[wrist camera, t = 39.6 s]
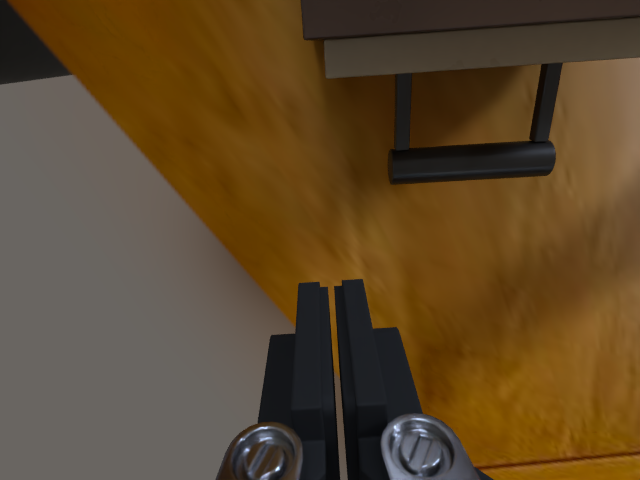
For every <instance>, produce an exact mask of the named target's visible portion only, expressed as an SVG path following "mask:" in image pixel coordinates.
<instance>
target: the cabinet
mask: <svg viewBox="0 0 640 480" xmlns="http://www.w3.org/2000/svg"><path fill="white" fill-rule="evenodd" d="M301 10H302V24H303V37H304V40H309V41H315V40H325V39H334V38H348V37H361V36H375V35H389V34H403V33H417V32H431V31H444V30H458V29H472V28H486V27H500V26H513V25H527V24H541V23H555V22H569V21H583V20H596V19H610V18H624V17H638V16H640V0H301Z"/></svg>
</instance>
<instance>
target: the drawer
mask: <svg viewBox="0 0 640 480" xmlns="http://www.w3.org/2000/svg"><path fill="white" fill-rule="evenodd" d="M639 57H640V16H638V17H624V18H610V19H596V20H583V21H569V22H555V23H541V24H527V25H513V26H500V27H486V28H472V29H458V30H444V31H431V32H417V33H403V34H389V35H375V36H361V37H348V38H334V39H325V40H324V58H325V76H326V78H327V79H331V78H346V77H361V76H375V75H390V74H395V120H394V148H395V149H390V150H389V154H388V176H389V182H390V184H391V185H396V184H414V183H431V182H449V181H466V180H484V179H501V178H519V177H536V176H547V175H549V174H550V173H551V172H552V170H553V168H554V165H555V159H556V153H555V148H554V145H553V143H552V142H551V141H549V140H548V138H549V133H550V128H551V122H552V117H553V112H554V107H555V101H556V96H557V91H558V85H559V80H560V75H561V69H562V64H563V63H566V62H580V61H595V60H609V59H624V58H639ZM536 64H542V65H541V71H540V77H539V83H538V89H537V95H536V101H535V107H534V113H533V119H532V125H531V131H530V137H529V139H530V140H532V141H518V142H501V143H485V144H468V145H452V146H435V147H419V148H409V143H410V114H411V85H412V73H419V72H434V71H448V70H463V69H478V68H492V67H507V66H522V65H536Z"/></svg>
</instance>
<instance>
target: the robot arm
mask: <svg viewBox="0 0 640 480" xmlns="http://www.w3.org/2000/svg"><path fill="white" fill-rule="evenodd" d="M334 290H335V306H336V322H337V338H338V354H339V369H340V383H341V396H342V409H343V423H344V435H345V448H346V462H347V475H348V480H493V479H492V478H490V477H489V476H487V475H486V474H484V473H483V472H481V471H480V470H478V469H477V468H475V467H474V466H473V464H472V463H471V461H470V459H469V457H468V455H467V453H466V451H465V449H464V448H463V446H462V444H461V442H460V440H459V438H458V437H457V436H456V434H455V433H454V432H453V430H452V429H451V428H450V427H449V426H447V425H446V424H445V423H444V422H442V421H441V420H439V419H437V418H434V417H432V416H430V415H425V414H423V413H422V409H421V406H420V402H419V399H418V395H417V392H416V388H415V385H414V381H413V378H412V375H411V371H410V368H409V364H408V361H407V357H406V354H405V350H404V347H403V343H402V340H401V336H400V333H399V330H398V328H397V327H393V328H377V329H373V328H372V323H371V318H370V313H369V308H368V303H367V298H366V293H365V288H364V283H363V279H355V280H342V286H334ZM334 385H335V384H334V368H333V354H332V340H331V326H330V312H329V298H328V287H320V283H319V282H309V283H299V285H298V301H297V316H296V332H295V334H281V335H271V337H270V343H269V349H268V356H267V363H266V369H265V377H264V384H263V390H262V397H261V403H260V411H259V417H258V424H255V425H253V426H250V427H248V428H247V429H245V430H243V431H242V432H241V433H239V435H237V436H236V437H235V439H234V440H233V441H232V442H231V444H230V445H229V447H228V449H227V451H226V453H225V456H224V458H223V461H222V464H221V467H220V469H219V472H218V475H217V477H216V480H340V471H339V454H338V437H337V436H338V435H337V418H336V402H335V386H334Z"/></svg>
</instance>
